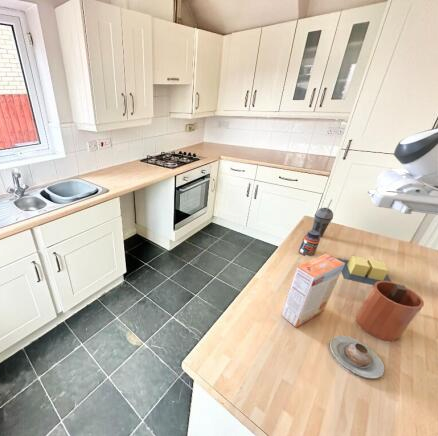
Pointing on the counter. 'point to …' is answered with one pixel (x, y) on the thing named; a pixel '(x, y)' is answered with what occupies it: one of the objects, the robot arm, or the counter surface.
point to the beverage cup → (322, 219)
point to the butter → (367, 268)
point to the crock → (388, 312)
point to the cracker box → (311, 289)
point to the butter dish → (357, 278)
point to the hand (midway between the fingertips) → (432, 214)
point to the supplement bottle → (310, 243)
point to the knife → (397, 293)
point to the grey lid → (357, 357)
